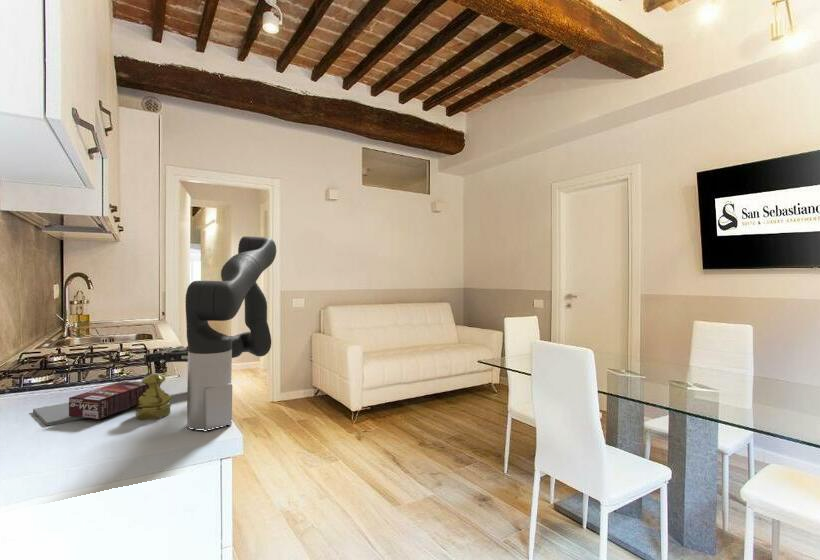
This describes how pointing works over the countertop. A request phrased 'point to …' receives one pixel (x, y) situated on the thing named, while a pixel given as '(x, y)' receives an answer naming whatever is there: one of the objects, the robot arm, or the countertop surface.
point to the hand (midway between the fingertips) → (144, 358)
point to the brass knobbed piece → (153, 399)
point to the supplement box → (106, 400)
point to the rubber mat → (55, 414)
